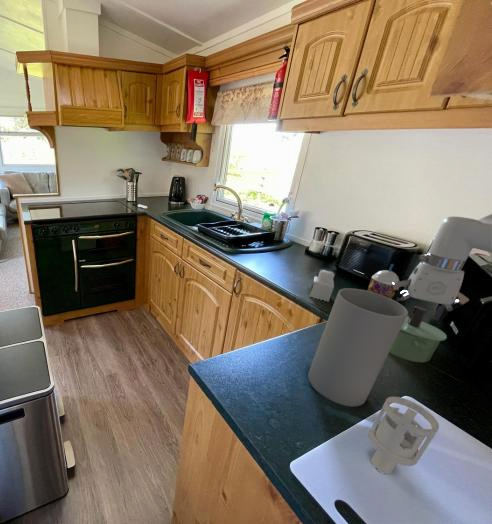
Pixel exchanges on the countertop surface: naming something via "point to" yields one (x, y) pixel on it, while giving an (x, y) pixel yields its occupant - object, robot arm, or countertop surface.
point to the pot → (413, 347)
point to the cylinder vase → (355, 345)
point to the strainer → (400, 435)
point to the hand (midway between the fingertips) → (416, 315)
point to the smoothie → (383, 283)
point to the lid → (421, 326)
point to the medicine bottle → (323, 285)
